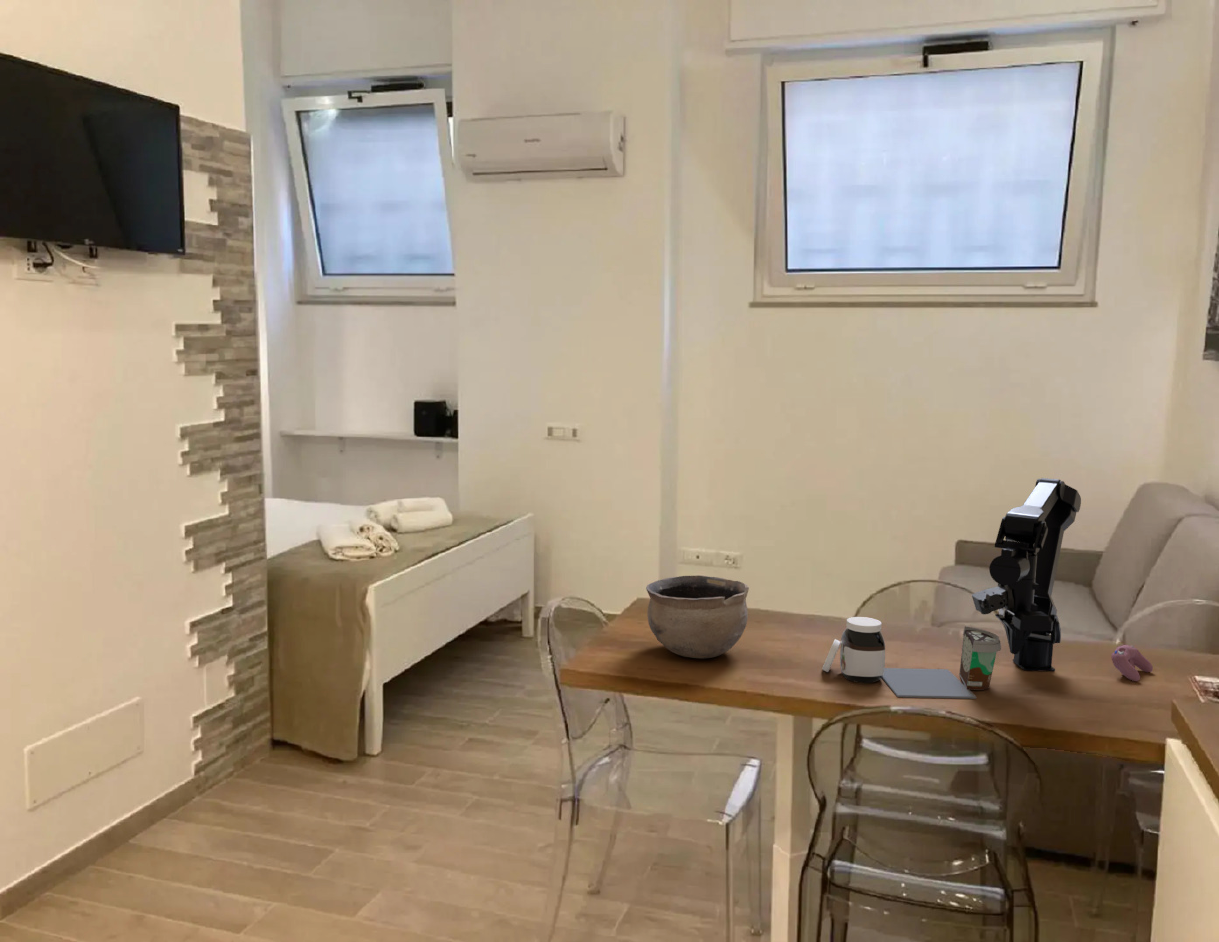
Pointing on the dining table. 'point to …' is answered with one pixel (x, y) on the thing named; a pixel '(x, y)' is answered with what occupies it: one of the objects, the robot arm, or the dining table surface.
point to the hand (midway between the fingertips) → (1013, 653)
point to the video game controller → (1130, 662)
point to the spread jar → (860, 651)
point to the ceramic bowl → (697, 614)
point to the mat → (925, 683)
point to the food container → (978, 657)
